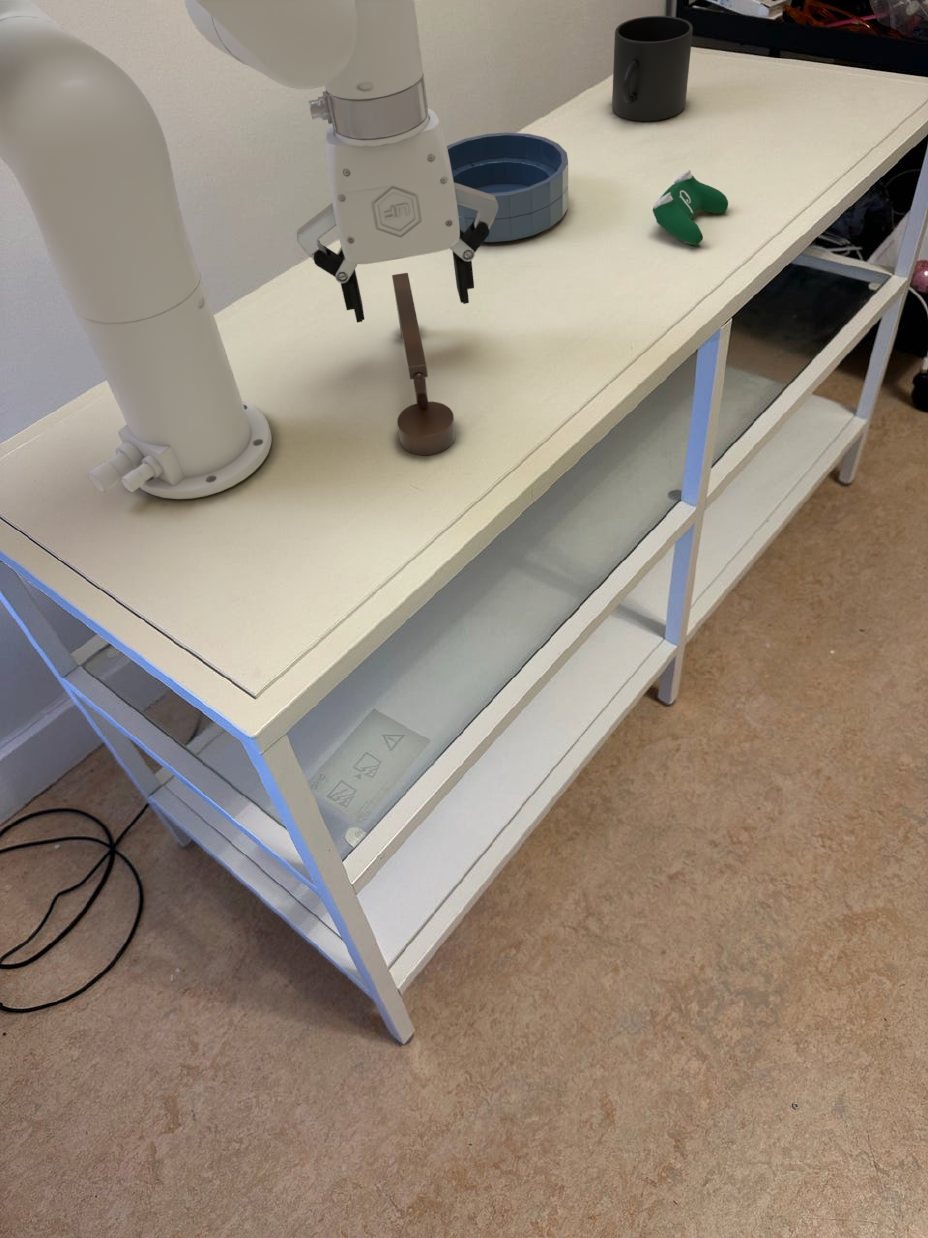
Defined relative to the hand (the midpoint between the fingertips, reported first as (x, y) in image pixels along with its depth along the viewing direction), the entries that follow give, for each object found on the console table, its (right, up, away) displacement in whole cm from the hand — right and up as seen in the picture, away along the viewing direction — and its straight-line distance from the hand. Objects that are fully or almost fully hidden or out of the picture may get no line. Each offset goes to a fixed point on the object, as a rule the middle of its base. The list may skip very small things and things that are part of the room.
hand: (411, 304), depth 82 cm
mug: (+28, +37, +34) cm, 58 cm away
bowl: (+9, +18, +20) cm, 28 cm away
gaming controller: (+29, +14, +15) cm, 35 cm away
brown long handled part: (+1, -8, 0) cm, 8 cm away
